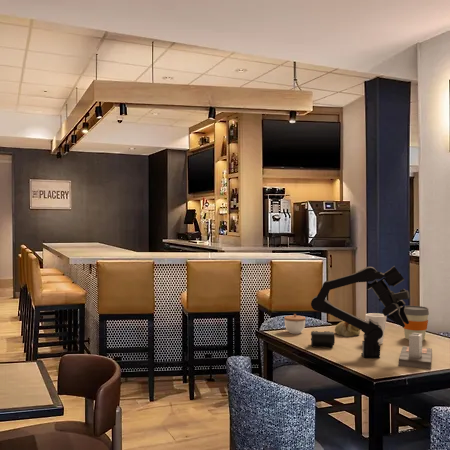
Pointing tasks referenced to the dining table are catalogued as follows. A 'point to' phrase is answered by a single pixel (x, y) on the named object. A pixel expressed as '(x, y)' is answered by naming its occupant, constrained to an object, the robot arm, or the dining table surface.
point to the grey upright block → (415, 345)
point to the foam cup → (377, 318)
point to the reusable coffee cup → (416, 320)
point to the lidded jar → (294, 323)
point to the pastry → (346, 329)
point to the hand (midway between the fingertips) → (406, 325)
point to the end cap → (322, 339)
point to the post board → (416, 362)
